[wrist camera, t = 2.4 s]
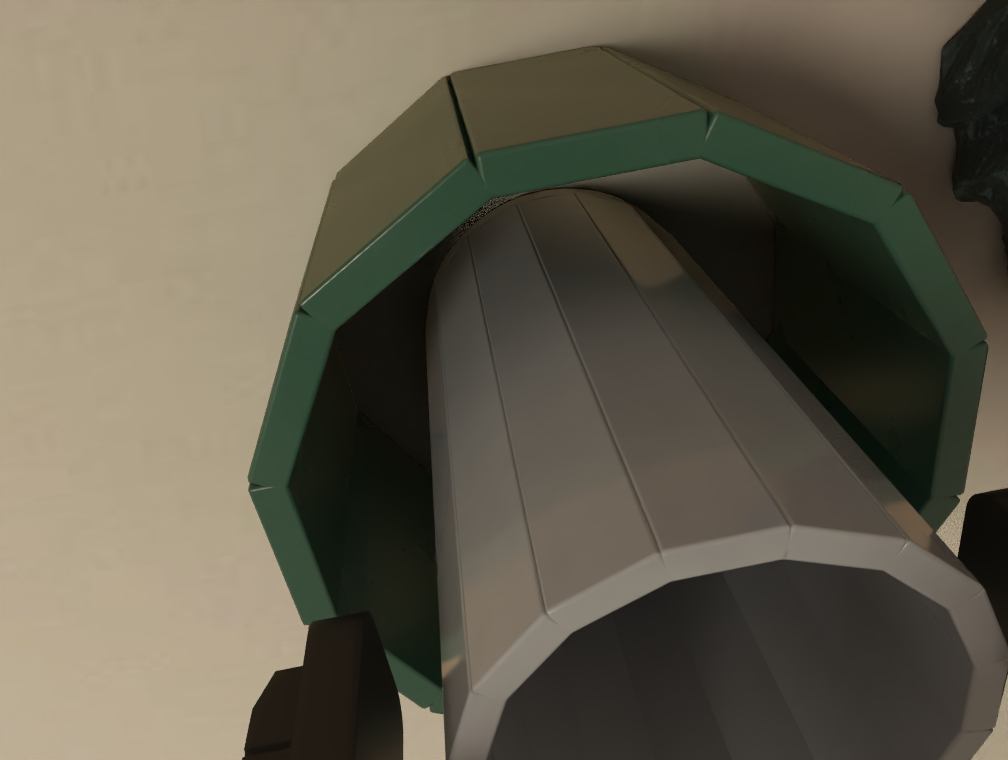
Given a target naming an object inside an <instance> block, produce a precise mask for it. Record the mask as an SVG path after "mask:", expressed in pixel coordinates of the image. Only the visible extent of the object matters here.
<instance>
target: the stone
mask: <svg viewBox="0 0 1008 760" xmlns="http://www.w3.org/2000/svg"><path fill="white" fill-rule="evenodd" d="M935 103H936V107H937V110H938V118H937V122H938V123H939V124H940V125H942V126H943V127H950V128H954V134H955V139H956V143H957V159H956V163H955V166H954V170H953V174H952V183H953V193H954V195H955V198H956V199H957V200H958V201H961V202H980V203H982V204H984V205H986V206H989V207H990V208H991V209H992V211H993V212H994V213H995V214H996V216H997V217H998V219H999V221H1000V222H1001V224H1002V227H1003V237H1002V240H1003V243H1004V245H1005V251H1006V255H1007V256H1008V0H988V1H987V2H986V3H985V4H984V6H983V7H982V8H981V9H980V10H979V11H978V12H977V13H976V14H975V16H974V17H973V18H972V19H971V21H970V22H969V23H968V24H967V25H966V26H965V27H964V28H963V29H962V30H961V31H960V32H959V33H958V34H957V35H956V36H955V37H954V38H953V39H952V40H951V41H949V42H948V43H947V44H946V45H945V46H944V47H943V51H942V56H941V70H940V84H939V89H938V92H937V95H936V99H935ZM1007 269H1008V268H1007Z"/></svg>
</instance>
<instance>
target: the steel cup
mask: <svg viewBox="0 0 1008 760" xmlns="http://www.w3.org/2000/svg"><path fill="white" fill-rule="evenodd" d="M425 338H426V358H427V379H428V400H429V421H430V442H431V462H432V483H433V504H434V525H435V546H436V566H437V587H438V608H439V629H440V650H441V670H442V691H443V712H444V733H445V754H446V760H971V759H972V757H973V756H974V755H975V754H976V752H977V751H978V750H979V748H980V747H981V746H982V745H983V743H984V742H985V741H986V739H987V738H988V737H989V735H990V734H991V733H992V732H993V728H994V727H995V725H996V721H997V717H998V713H999V708H1000V704H1001V700H1002V696H1003V692H1004V688H1005V683H1006V679H1007V675H1008V645H1007V642H1006V640H1005V637H1004V635H1003V632H1002V630H1001V627H1000V625H999V622H998V620H997V618H996V615H995V613H994V610H993V608H992V605H991V603H990V600H989V598H988V595H987V593H986V590H985V588H984V587H983V586H982V585H981V584H980V583H979V581H978V580H977V579H976V578H975V577H974V576H973V575H972V574H971V572H970V571H969V570H968V569H967V568H966V567H965V566H964V565H963V563H962V562H961V561H960V560H959V559H958V558H957V557H956V556H955V554H954V553H953V552H952V551H951V550H950V549H949V548H948V546H947V545H946V544H945V543H944V542H943V541H942V540H941V539H940V537H939V536H938V535H937V534H936V533H935V532H934V531H933V530H932V528H931V527H930V526H929V525H928V524H927V523H926V522H925V521H924V519H923V518H922V517H921V516H920V515H919V514H918V513H917V512H916V510H915V509H914V508H913V507H912V506H911V505H910V504H909V502H908V501H907V500H906V499H905V498H904V497H903V496H902V495H901V493H900V492H899V491H898V490H897V489H896V488H895V487H894V486H893V484H892V483H891V482H890V481H889V480H888V479H887V478H886V477H885V475H884V474H883V473H882V472H881V471H880V470H879V469H878V468H877V466H876V465H875V464H874V463H873V462H872V461H871V460H870V458H869V457H868V456H867V455H866V454H865V453H864V452H863V451H862V449H861V448H860V447H859V446H858V445H857V444H856V443H855V442H854V440H853V439H852V438H851V437H850V436H849V435H848V434H847V433H846V431H845V430H844V429H843V428H842V427H841V426H840V425H839V424H838V422H837V421H836V420H835V419H834V418H833V417H832V416H831V415H830V413H829V412H828V411H827V410H826V409H825V408H824V407H823V405H822V404H821V403H820V402H819V401H818V400H817V399H816V398H815V396H814V395H813V394H812V393H811V392H810V391H809V390H808V389H807V387H806V386H805V385H804V384H803V383H802V382H801V381H800V380H799V378H798V377H797V376H796V375H795V374H794V373H793V372H792V371H791V369H790V368H789V367H788V366H787V365H786V364H785V363H784V361H783V360H782V359H781V358H780V357H779V356H778V355H777V354H776V352H775V351H774V350H773V349H772V348H771V347H770V346H769V345H768V343H767V342H766V341H765V340H764V339H763V338H762V337H761V336H760V334H759V333H758V332H757V331H756V330H755V329H754V328H753V327H752V325H751V324H750V323H749V322H748V321H747V320H746V319H745V317H744V316H743V315H742V314H741V313H740V312H739V311H738V310H737V308H736V307H735V306H734V305H733V304H732V303H731V302H730V301H729V299H728V298H727V297H726V296H725V295H724V294H723V293H722V292H721V290H720V289H719V288H718V287H717V286H716V285H715V284H714V283H713V281H712V280H711V279H710V278H709V277H708V276H707V275H706V273H705V272H704V271H703V270H702V269H701V268H700V267H699V266H698V264H697V263H696V262H695V261H694V260H693V259H692V258H691V257H690V255H689V254H688V253H687V252H686V251H685V250H684V249H683V248H682V246H681V245H680V244H679V243H678V242H677V241H676V240H675V239H674V237H673V236H672V235H671V234H670V233H669V232H667V231H666V230H665V229H663V228H662V227H661V226H659V224H658V223H657V222H656V221H654V220H653V219H652V218H651V217H650V216H648V215H647V214H646V213H645V212H644V211H642V210H640V209H639V208H637V207H636V206H634V205H632V204H631V203H629V202H626V201H624V200H622V199H620V198H617V197H615V196H612V195H609V194H605V193H602V192H598V191H592V190H585V189H553V190H545V191H540V192H536V193H532V194H528V195H524V196H521V197H519V198H516V199H514V200H511V201H509V202H506V203H505V204H503V205H501V206H499V207H497V208H496V209H494V210H492V211H490V212H489V213H487V214H486V215H485V216H483V217H482V218H480V219H479V220H478V221H476V222H475V223H474V224H473V225H472V226H471V227H470V228H469V229H468V230H467V231H465V232H464V233H463V234H462V235H461V236H460V238H459V239H458V240H457V241H456V243H455V244H454V245H453V246H452V248H451V249H450V250H449V252H448V254H447V255H446V257H445V258H444V260H443V262H442V263H441V265H440V267H439V270H438V272H437V274H436V277H435V279H434V282H433V285H432V289H431V292H430V296H429V303H428V310H427V322H426V327H425Z"/></svg>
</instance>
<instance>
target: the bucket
mask: <svg viewBox="0 0 1008 760" xmlns="http://www.w3.org/2000/svg"><path fill="white" fill-rule="evenodd" d="M450 81H451V83H450V82H449V81H448V79H447V78H446V77H442V78H441V79H440V80H439V81H438V82H437V83H436V84H435V85H434V86H432V87H431V88H430V89H429V90H428V91H427V92H426V93H425V94H424V95H423V96H421V97H420V98H419V99H418V100H417V101H416V102H415V103H414V104H413V105H412V106H410V107H409V108H408V109H407V110H406V111H405V112H404V113H403V114H402V115H401V116H399V117H398V118H397V119H396V120H395V121H394V122H393V123H392V124H391V125H390V126H388V127H387V128H386V129H385V130H384V131H383V132H382V133H381V134H380V135H379V136H377V137H376V138H375V139H374V140H373V141H372V142H371V143H370V144H369V145H368V146H366V147H365V148H364V149H363V150H362V151H361V152H360V153H359V154H358V155H357V156H355V157H354V158H353V159H352V160H351V161H350V162H349V163H348V164H347V165H346V166H344V167H343V168H342V169H341V170H340V171H339V172H338V173H337V175H336V179H335V180H334V181H333V182H332V184H331V187H330V191H329V194H328V197H327V201H326V204H325V207H324V211H323V214H322V217H321V221H320V224H319V227H318V231H317V234H316V237H315V241H314V244H313V247H312V251H311V254H310V257H309V261H308V264H307V267H306V271H305V274H304V277H303V281H302V284H301V287H300V291H299V294H298V297H297V301H296V304H295V307H294V310H293V314H292V317H291V321H290V325H289V328H288V332H287V336H286V339H285V343H284V347H283V350H282V354H281V358H280V361H279V365H278V369H277V372H276V376H275V379H274V383H273V387H272V390H271V394H270V398H269V401H268V405H267V409H266V412H265V416H264V420H263V423H262V427H261V430H260V434H259V438H258V441H257V445H256V449H255V452H254V456H253V460H252V463H251V467H250V471H249V474H248V481H249V482H250V485H249V489H248V491H249V493H250V496H251V498H252V501H253V503H254V506H255V508H256V510H257V513H258V515H259V518H260V520H261V523H262V525H263V527H264V530H265V532H266V535H267V537H268V540H269V542H270V545H271V547H272V549H273V552H274V554H275V557H276V559H277V562H278V564H279V566H280V569H281V571H282V574H283V576H284V579H285V581H286V583H287V586H288V588H289V591H290V593H291V596H292V598H293V600H294V603H295V605H296V608H297V610H298V613H299V615H300V618H301V620H302V622H303V624H304V625H309V627H310V625H311V623H312V622H313V621H317V620H323V619H328V618H333V617H338V616H343V615H348V614H353V613H358V612H364V611H369V612H370V613H371V615H372V617H373V619H374V622H375V625H376V628H377V631H378V633H379V636H380V639H381V642H382V645H383V648H384V651H385V654H386V657H387V660H388V663H389V666H390V669H391V672H392V674H393V677H394V680H395V683H396V687H397V690H398V692H400V693H401V694H402V695H404V696H405V697H407V698H408V699H410V700H411V701H413V702H414V703H416V704H417V705H419V706H420V707H422V708H427V707H429V706H430V712H433V713H439V714H444V712H443V691H442V670H441V650H440V629H439V608H438V587H437V566H436V546H435V525H434V504H433V483H432V476H431V475H430V474H429V473H428V472H427V471H425V470H424V469H423V468H422V467H421V466H420V465H419V464H418V463H416V462H415V461H414V460H413V459H412V458H411V457H410V456H408V455H407V454H406V453H405V452H404V451H403V450H402V449H400V448H399V447H398V446H397V445H396V444H395V443H394V442H392V441H391V440H390V439H389V438H388V437H387V436H386V435H385V434H383V433H382V432H381V431H380V430H379V429H378V428H377V427H375V426H374V425H373V424H372V423H371V422H370V421H369V420H367V419H366V418H365V417H364V416H363V415H362V414H361V413H360V412H358V410H357V406H356V403H355V400H354V397H353V393H352V390H351V387H350V383H349V380H348V377H347V373H346V370H345V367H344V364H343V360H342V357H341V354H340V350H339V347H338V344H337V340H336V337H335V333H336V330H337V329H338V328H339V327H340V326H341V325H342V324H344V323H345V322H346V321H347V320H348V319H350V318H351V317H352V316H353V315H354V314H355V313H357V312H358V311H359V310H360V309H361V308H363V307H364V306H365V305H366V304H367V303H368V302H370V301H371V300H372V299H373V298H374V297H376V296H377V295H378V294H379V293H380V292H382V291H383V290H384V289H385V288H386V287H387V286H389V285H390V284H391V283H392V282H393V281H395V280H396V279H397V278H398V277H399V276H400V275H402V274H403V273H404V272H405V271H406V270H408V269H409V268H410V267H411V266H412V265H414V264H415V263H416V262H417V261H418V260H419V259H421V258H422V257H423V256H424V255H425V254H427V253H428V252H429V251H430V250H431V249H432V248H434V247H435V246H436V245H437V244H438V243H440V242H441V241H442V240H443V239H444V238H446V237H447V236H448V235H449V234H450V233H451V232H453V231H454V230H455V229H456V228H457V227H459V226H460V225H461V224H462V223H463V222H464V221H466V220H467V219H468V218H469V217H470V216H472V215H473V214H474V213H475V212H476V211H478V210H479V209H480V208H481V207H482V206H483V205H485V204H486V203H487V202H488V201H489V200H491V199H492V198H496V197H501V196H507V195H512V194H517V193H522V192H527V191H533V190H538V189H543V188H548V187H553V186H559V185H564V184H569V183H574V182H579V181H585V180H590V179H595V178H600V177H605V176H611V175H616V174H621V173H626V172H632V171H637V170H642V169H647V168H652V167H658V166H663V165H668V164H673V163H678V162H684V161H689V160H694V159H699V158H700V159H703V160H706V161H708V162H711V163H713V164H716V165H719V166H721V167H724V168H726V169H729V170H732V171H734V172H737V173H739V174H742V175H745V176H746V177H747V179H748V180H749V182H750V183H751V185H752V186H753V188H754V189H755V191H756V192H757V194H758V195H759V197H760V198H761V200H762V201H763V203H764V205H765V206H766V208H767V209H768V211H769V212H770V214H771V215H772V217H773V218H774V220H775V221H776V246H775V322H774V330H773V332H772V334H771V335H770V337H769V339H768V341H767V343H768V345H769V346H770V347H771V348H772V349H773V350H774V351H775V352H776V354H777V355H778V356H779V357H780V358H781V359H782V360H783V361H784V363H785V364H786V365H787V366H788V367H789V368H790V369H791V371H792V372H793V373H794V374H795V375H796V376H797V377H798V378H799V380H800V381H801V382H802V383H803V384H804V385H805V386H806V387H807V389H808V390H809V391H810V392H811V393H812V394H813V395H814V396H815V398H816V399H817V400H818V401H819V402H820V403H821V404H822V405H823V407H824V408H825V409H826V410H827V411H828V412H829V413H830V415H831V416H832V417H833V418H834V419H835V420H836V421H837V422H838V424H839V425H840V426H841V427H842V428H843V429H844V430H845V431H846V433H847V434H848V435H849V436H850V437H851V438H852V439H853V440H854V442H855V443H856V444H857V445H858V446H859V447H860V448H861V449H862V451H863V452H864V453H865V454H866V455H867V456H868V457H869V458H870V460H871V461H872V462H873V463H874V464H875V465H876V466H877V468H878V469H879V470H880V471H881V472H882V473H883V474H884V475H885V477H886V478H887V479H888V480H889V481H890V482H891V483H892V484H893V486H894V487H895V488H896V489H897V490H898V491H899V492H900V493H901V495H902V496H903V497H904V498H905V499H906V500H907V501H908V502H909V504H910V505H911V506H912V507H913V508H914V509H915V510H916V512H917V513H918V514H919V515H920V516H921V517H922V518H923V519H924V521H925V522H926V523H927V524H928V525H929V526H930V527H931V528H932V530H933V531H934V532H935V533H936V532H937V530H938V529H939V528H940V527H941V525H942V524H943V523H944V521H945V520H946V519H947V518H948V516H949V515H950V514H951V512H952V511H953V510H954V509H955V507H956V506H957V505H958V503H959V502H960V499H959V498H958V497H957V495H961V494H963V493H964V489H965V484H966V478H967V472H968V466H969V460H970V454H971V448H972V442H973V436H974V430H975V424H976V418H977V412H978V406H979V400H980V395H981V389H982V383H983V377H984V371H985V365H986V359H987V353H988V344H987V342H985V341H984V340H985V339H986V338H987V334H986V332H985V330H984V328H983V326H982V324H981V322H980V320H979V319H978V317H977V315H976V313H975V311H974V309H973V307H972V306H971V304H970V302H969V300H968V298H967V296H966V294H965V293H964V291H963V289H962V287H961V285H960V283H959V281H958V280H957V278H956V276H955V274H954V272H953V270H952V269H951V267H950V265H949V263H948V261H947V259H946V257H945V256H944V254H943V252H942V250H941V248H940V246H939V244H938V243H937V241H936V239H935V237H934V235H933V233H932V231H931V230H930V228H929V226H928V224H927V222H926V220H925V218H924V217H923V215H922V213H921V211H920V209H919V207H918V205H917V204H916V202H915V200H914V198H913V196H912V194H911V193H909V192H908V191H906V190H904V189H903V187H902V185H901V184H899V183H897V182H895V181H894V180H892V179H890V178H888V177H886V176H884V175H882V174H880V173H878V172H876V171H874V170H872V169H870V168H868V167H866V166H864V165H862V164H860V163H858V162H856V161H854V160H852V159H850V158H848V157H846V156H844V155H842V154H840V153H838V152H836V151H834V150H832V149H830V148H828V147H826V146H824V145H822V144H820V143H818V142H816V141H814V140H812V139H810V138H808V137H806V136H804V135H802V134H800V133H798V132H796V131H794V130H792V129H790V128H788V127H786V126H784V125H782V124H780V123H778V122H776V121H774V120H772V119H770V118H768V117H766V116H764V115H762V114H760V113H758V112H756V111H754V110H752V109H750V108H748V107H746V106H744V105H742V104H740V103H738V102H736V101H734V100H732V99H730V98H728V97H726V96H723V95H721V94H718V93H716V92H714V91H711V90H709V89H706V88H704V87H701V86H699V85H697V84H694V83H692V82H689V81H687V80H685V79H682V78H680V77H677V76H675V75H672V74H670V73H668V72H665V71H663V70H660V69H658V68H655V67H653V66H651V65H648V64H646V63H643V62H641V61H639V60H636V59H634V58H631V57H629V56H626V55H624V54H622V53H619V52H617V51H614V50H612V49H609V48H607V47H603V48H602V49H600V48H598V47H596V46H591V47H586V48H580V49H575V50H570V51H565V52H559V53H554V54H549V55H544V56H538V57H533V58H528V59H523V60H517V61H512V62H507V63H501V64H496V65H491V66H486V67H480V68H475V69H470V70H465V71H459V72H454V73H452V74H450Z"/></svg>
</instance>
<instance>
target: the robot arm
mask: <svg viewBox="0 0 1008 760" xmlns="http://www.w3.org/2000/svg"><path fill="white" fill-rule="evenodd" d="M958 559H959V560H960V561H961V562H962V563H963V565H964V566H965V567H966V568H967V569H968V570H969V571H970V572H971V574H972V575H973V576H974V577H975V578H976V579H977V580H978V581H979V583H980V584H981V585H982V586H983V587H984V588H985V590H986V593H987V595H988V598H989V600H990V603H991V605H992V608H993V610H994V613H995V615H996V618H997V620H998V622H999V625H1000V627H1001V630H1002V632H1003V635H1004V637H1005V640H1006V642H1007V645H1008V488H1005V489H1000V490H994V491H989V492H984V493H979V494H975V495H973V496H972V497H971V498H970V499H969V501H968V503H967V506H966V511H965V517H964V523H963V529H962V535H961V541H960V546H959V552H958ZM244 750H245V757H243V758H242V760H403V722H402V712H401V705H400V699H399V694H398V690H397V687H396V683H395V680H394V677H393V674H392V672H391V669H390V666H389V663H388V660H387V657H386V654H385V651H384V648H383V645H382V642H381V639H380V636H379V633H378V631H377V628H376V625H375V622H374V619H373V617H372V615H371V613H370V612H369V611H364V612H358V613H353V614H348V615H343V616H338V617H333V618H328V619H323V620H317V621H313V622H312V623H311V625H310V627H309V630H308V636H307V642H306V649H305V656H304V663H303V666H300V667H295V668H290V669H285V670H280V671H276V672H275V673H274V675H273V677H272V678H271V680H270V681H269V683H268V685H267V686H266V688H265V690H264V691H263V693H262V694H261V696H260V698H259V699H258V701H257V703H256V704H255V706H254V707H253V709H252V714H251V719H250V724H249V729H248V733H247V738H246V743H245V748H244Z"/></svg>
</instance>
